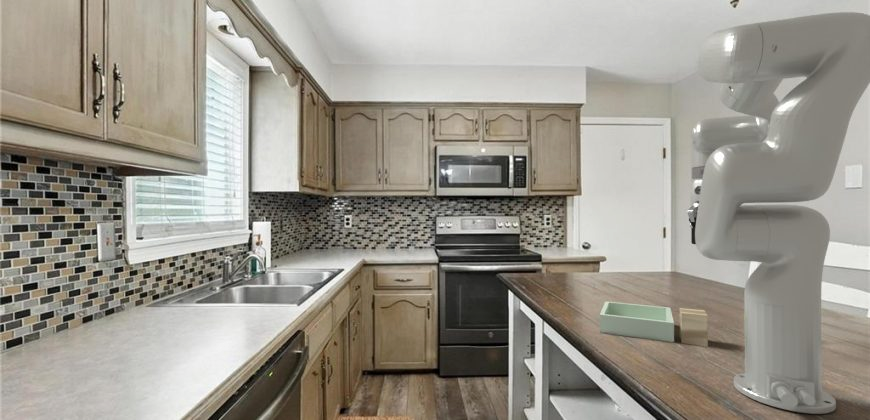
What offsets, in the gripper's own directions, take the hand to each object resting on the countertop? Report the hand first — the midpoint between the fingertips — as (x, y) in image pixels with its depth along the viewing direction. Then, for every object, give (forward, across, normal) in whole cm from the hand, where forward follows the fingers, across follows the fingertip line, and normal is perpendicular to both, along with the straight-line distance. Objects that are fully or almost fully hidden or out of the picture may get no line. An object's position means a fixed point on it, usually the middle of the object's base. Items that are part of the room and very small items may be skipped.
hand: (710, 243), depth 97 cm
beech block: (+22, -10, -1) cm, 25 cm away
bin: (+22, -12, +12) cm, 28 cm away
